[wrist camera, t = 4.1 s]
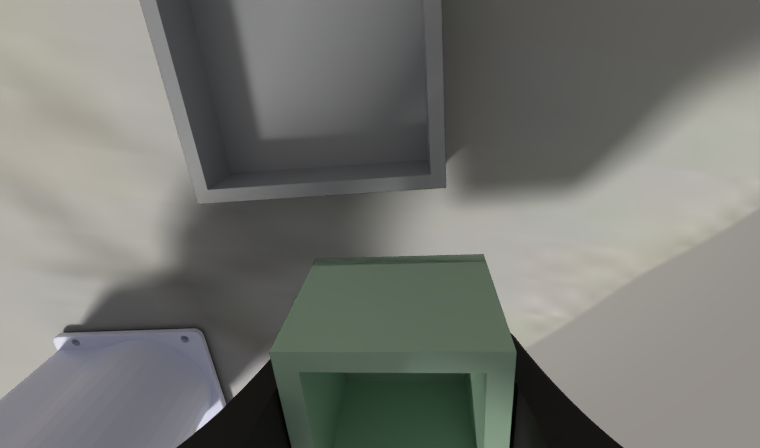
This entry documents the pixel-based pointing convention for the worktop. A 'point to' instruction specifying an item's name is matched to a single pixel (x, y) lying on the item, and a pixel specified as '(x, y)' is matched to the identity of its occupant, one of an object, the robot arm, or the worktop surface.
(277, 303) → the worktop surface
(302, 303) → the small crate
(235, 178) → the large crate
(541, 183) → the worktop surface
